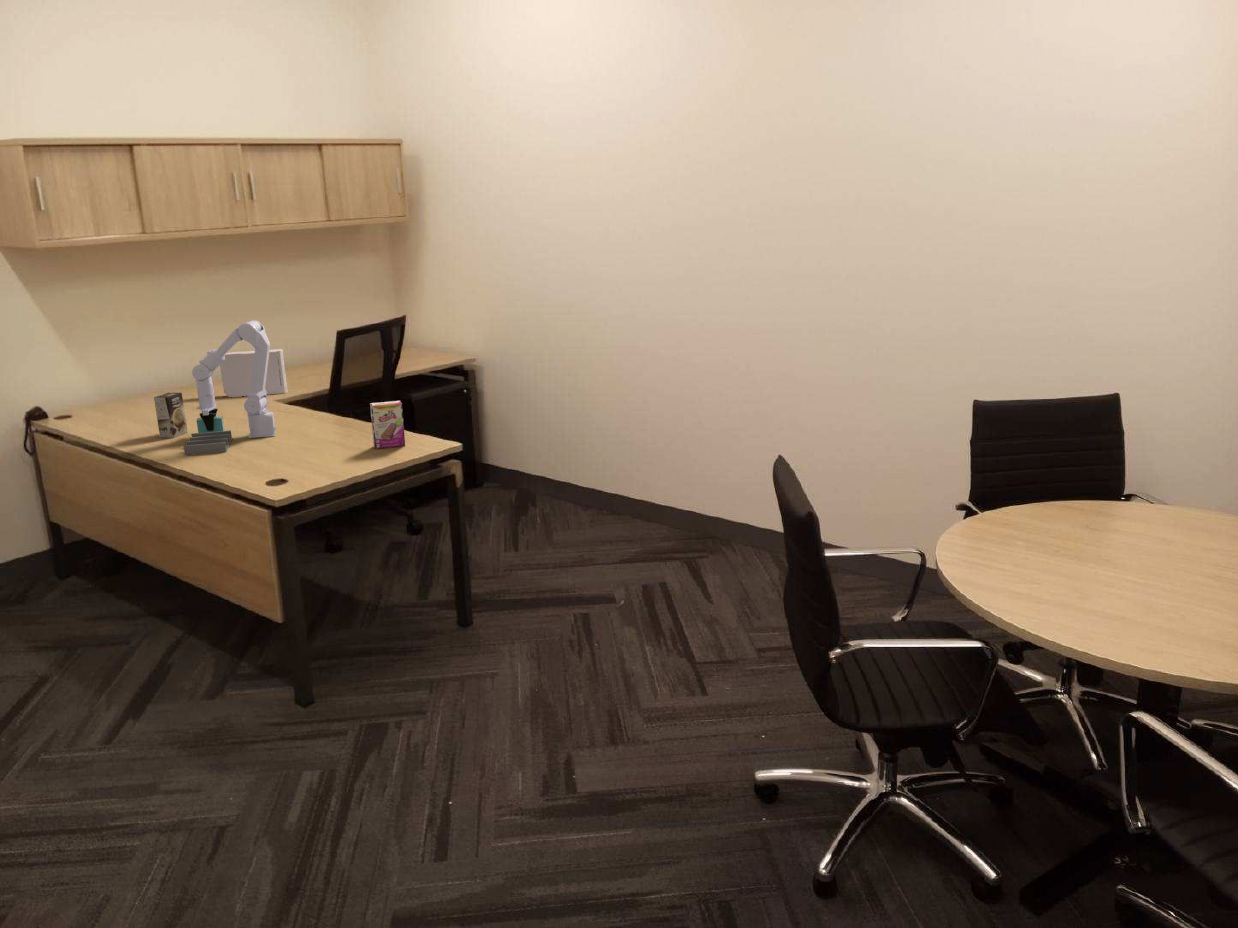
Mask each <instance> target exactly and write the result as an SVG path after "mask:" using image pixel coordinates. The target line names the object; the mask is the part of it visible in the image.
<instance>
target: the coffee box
mask: <svg viewBox="0 0 1238 928" xmlns="http://www.w3.org/2000/svg"><path fill="white" fill-rule="evenodd" d="M153 401H154V407H155V414H156V420H157V421H156V422H157V426H158V434H159V438H164V437H165V439H166V437H167V439H174V438H173V437H175V438H177V437H179V435H180V436H182V435H184V434H186V432H187V433H188V432H189V430H188V424H187V419H186V411H185V405H184V399H183V393H182V392H167V393H164V394H163V393H162V394H160V395H157V396H156V395H155V396H154V397H153Z"/></svg>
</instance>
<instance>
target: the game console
mask: <svg viewBox="0 0 1238 928" xmlns="http://www.w3.org/2000/svg"><path fill="white" fill-rule="evenodd" d="M254 355H255V350H250V351H249V350H248V351H247V350H245V351H233V352H232V351H231V352H229V351H228V352H227V353H226V354H225V360H224V361H223V362H222V363H221V364H220V365H219V368H220V374H221V375H220V376H221V382H222V389H223V393H224V394H225V395H226V396H227V397H228V398H231V397H232V398H243V397H242V396H244V397H248V394H249V391H250V389H251V381H252V372H253V364H254ZM265 390H266V392H267V393H266V396H268V395H278V394H279V395H280V394H287V393H288V391H289V390H288V383H287V374H286V367H285V357H284V351H283V348H279V349H277V348H276V349H275V348H274V349H270V351H269V359H268V367H267V376H266V384H265Z"/></svg>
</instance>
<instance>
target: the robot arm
mask: <svg viewBox="0 0 1238 928" xmlns="http://www.w3.org/2000/svg"><path fill="white" fill-rule="evenodd" d="M242 340H244V341H245V342H247V343H249V344H250V345H251V346H252V347H253V348H254V351H255V355H254V364H253V372H252V381H251V389H250V391H249V394H248V396H247V397H246V400H245V401H244V403H243V404H244V405H243V408H244V410H245V411H246V414H247V419H248V428H249V435H248V439H253V438H255V439H256V438H266V437H267V438H268V437H274V436H276V431H277V428H276V423H275V415H274V412H273V411H268V409H267V406H268V404H269V400H268V398H267V395H266V393H267V392H266V390H265V384H266V376H267V367H268V359H269V351H270V350H271V343H270V340H269V338H268V335H267V333H266V329H265V326H264V325H263V324H262V323H261V322H260V321H258V320H256V319H250V320H248V321H246V322H244V323H242V324H240V325H239V326H238V327H237V328H235V329H234V330H233V331H232V332H230V334H229V335H228V336H227V338H226V339H224V341H223V342H222V343H221V344H220V346H219V347H218V348H216V349H215V348H213V349H211V350H208V351H207V352H206V356H204V358H203V359H200V360H199V361H198V363H199V364H197V365H195V366H193V368H192V372H191V373H192V376H193V378H194V379H195V383H196V385H195V386H196V390H197V397H198V403H199V404H198V406H196V410H200V411H201V412H200V413H199V418H202V420H203V421H204V423H205V426H206V429H207V431H213V430H214V417H216V416H217V413H218V410H219V409H218V408H217V404H216V400H215V399H216V398H215V397H216V396H215V391H214V384H213V377H212V376H213V374H214V372H215V371H216V370H217V369H218V367H220V364H221V363H222V362H223V361H224V360H225V354H226V353H229V351H230V350H231V349H232V348H233V347H234V346H235V345H236V344H237V343H239V342H240V341H242Z"/></svg>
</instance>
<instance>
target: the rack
mask: <svg viewBox="0 0 1238 928" xmlns="http://www.w3.org/2000/svg"><path fill="white" fill-rule="evenodd" d="M232 441H233V435H232V430H225V431H218V432H206V433H198V432H196V433H191V437H190V436H189V437H188V441H186V442H185V443H186V444H185V445H183V449H184V456H185V455H186V456H190V455H189V454H198V455H206V454H207V455H208V454H209V455H210V454H219V453H220V454H221V453H227V451H228V449H229V448H230V445H231V442H232Z"/></svg>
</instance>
